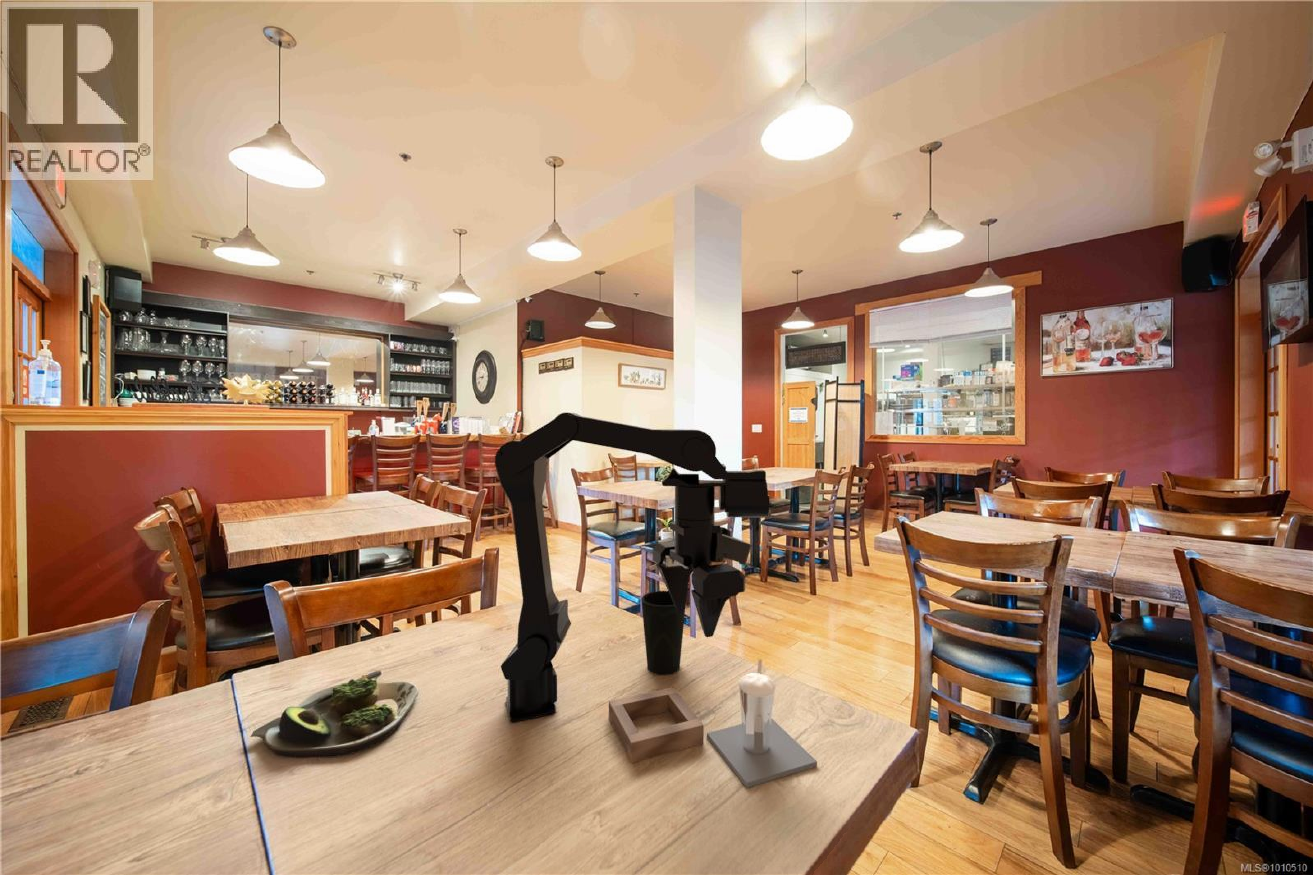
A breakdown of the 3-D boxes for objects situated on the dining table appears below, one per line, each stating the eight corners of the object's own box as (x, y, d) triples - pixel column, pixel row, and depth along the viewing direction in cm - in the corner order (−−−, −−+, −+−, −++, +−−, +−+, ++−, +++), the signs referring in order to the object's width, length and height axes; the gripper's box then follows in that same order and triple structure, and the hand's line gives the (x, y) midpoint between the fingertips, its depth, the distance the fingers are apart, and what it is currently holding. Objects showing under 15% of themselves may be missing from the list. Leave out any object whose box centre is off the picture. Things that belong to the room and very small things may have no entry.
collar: (631, 762, 62) (631, 742, 62) (608, 718, 72) (608, 701, 72) (703, 743, 66) (703, 724, 66) (673, 703, 75) (673, 687, 75)
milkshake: (777, 736, 67) (777, 662, 66) (772, 761, 62) (772, 681, 61) (742, 728, 68) (743, 656, 68) (735, 753, 63) (735, 675, 63)
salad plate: (328, 682, 82) (327, 654, 82) (438, 681, 83) (438, 653, 83) (231, 762, 63) (231, 726, 63) (377, 760, 63) (376, 724, 63)
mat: (746, 788, 58) (746, 782, 58) (706, 737, 67) (706, 733, 67) (817, 766, 62) (817, 761, 62) (769, 720, 71) (769, 716, 71)
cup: (686, 678, 83) (686, 606, 82) (640, 678, 83) (640, 606, 83) (684, 656, 90) (685, 590, 90) (642, 656, 91) (642, 590, 90)
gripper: (780, 525, 67) (779, 641, 67) (713, 503, 84) (713, 596, 84) (705, 531, 63) (704, 655, 63) (651, 507, 80) (651, 604, 80)
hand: (694, 623), depth 73 cm, fingers open, 9 cm apart
